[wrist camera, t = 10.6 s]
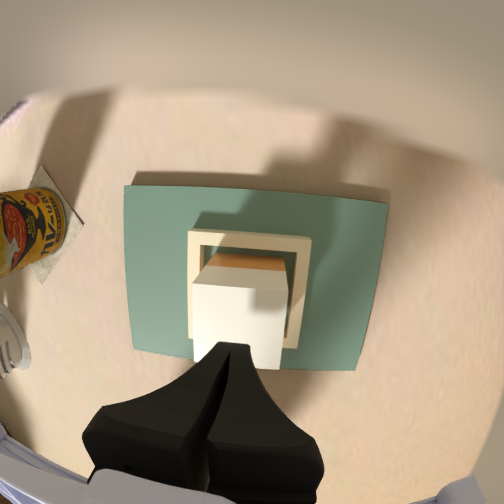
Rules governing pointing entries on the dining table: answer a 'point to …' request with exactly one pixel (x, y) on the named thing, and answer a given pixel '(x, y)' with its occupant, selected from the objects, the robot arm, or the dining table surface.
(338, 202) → the base plate
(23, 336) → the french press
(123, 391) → the dining table surface
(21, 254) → the condiment
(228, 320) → the brick stack
